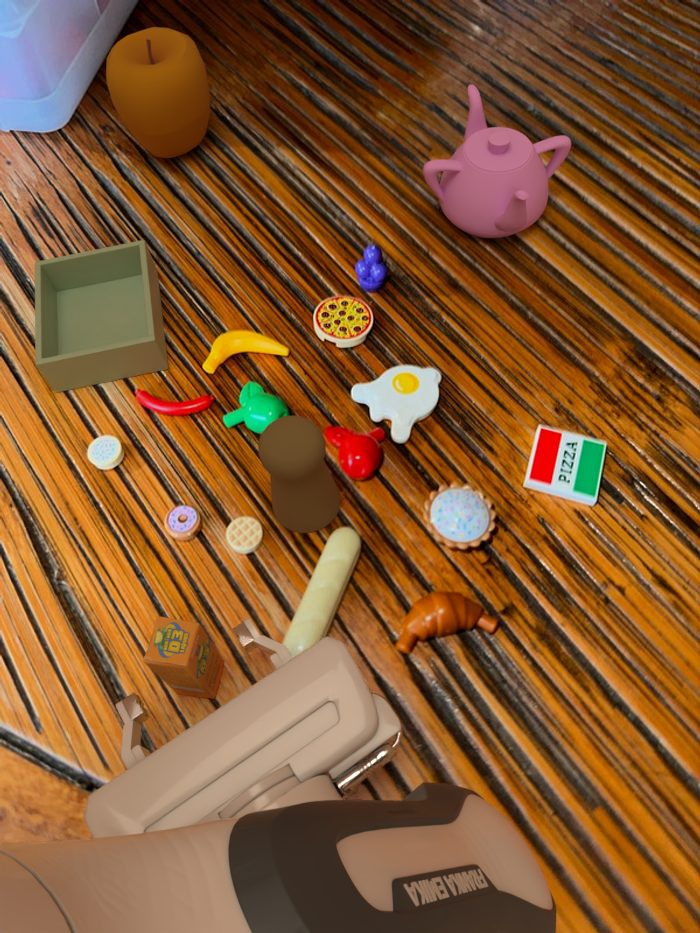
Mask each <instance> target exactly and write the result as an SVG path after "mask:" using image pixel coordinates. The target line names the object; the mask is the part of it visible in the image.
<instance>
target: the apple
mask: <svg viewBox="0 0 700 933" xmlns="http://www.w3.org/2000/svg"><path fill="white" fill-rule="evenodd" d="M105 68H106V69H105V77H106V78H105V79H106V86H107V89H108V91H109V95H110V98H111V102H112V105H113V107H114V109H115V111H116V112H117V115H118V116H119V118H120V120H121V121H122V123H123V124H124V125H125V127H126V128H127V130H129V132H130V133H131V135H132V136H133V137H134V138H135V139H136V141H137V142H138V143H139V144H140V146H141V147H143V148H144V149H145V150H147V151H148V152H149V153H150V154H151V155H152V156H153V157H155V158H162V159H173V158H177V157H179V156H183V155H185V154H187V153H189V152H190V151H192V150H194V149H195V148H196V147H197V146H199V145H200V144H201V143H202V141H203V140H204V137H205V136H206V134H207V130H208V125H209V120H210V115H211V96H210V84H209V78H208V75H207V74H208V73H207V68H206V65H205V63H204V61H203V58H202V55H201V54H200V51H199V49H198V47H197V45H196V43H195V41H194V40H193V39H192V38H191V37H190V36H189V35H188V34H186V33H183V32H180V31H178V30H175V29H172V28H169V27H158V26H153V27H149V28H145V29H142V30H139V31H136V32H133V33H131V34H127V35H126V36H124V37H123V38H121V39H120V40H119V41H117V42H116V43H115V44H114V45H113V46H112V48H111V50H110V51H109V53H108V55H107V57H106V67H105Z"/></svg>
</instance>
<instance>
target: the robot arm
mask: <svg viewBox="0 0 700 933" xmlns="http://www.w3.org/2000/svg"><path fill="white" fill-rule="evenodd" d="M232 631H233V633H234V634H235V636H236V638H237V639H238V641H239V642H240V644H241V646H242V647H243V649H244V650H245V653H247V654H249V653H250V652H252V651H254V650H256V649H259V650H261V651H263V652H264V653H267V654H268V655H270V656H269V660H270V661H271V663H272V664H273V666H274V667H275V670H273V671H271V672H270V673H268V674H267V675H265V676H264V677H263V678H261V679H260V680H258V681H256V682H255V683H253V684H252V685H250V686H249V687H248V688H246V689H245V690H243V691H242V692H240V693H239V694H237V695H236V696H235V697H233V698H231V699H230V700H229V701H227V702H225V703H224V704H222V705H221V706H219V707H218V708H217V709H215V710H213V711H212V712H210V713H209V714H207V715H206V716H205V717H203V718H201V719H200V720H199V721H197V722H196V723H193V725H190V727H188V728H187V729H185V730H184V731H182V732H181V733H179V734H177V735H176V736H175V737H173V738H172V739H171V740H169V741H167V742H165V743H164V744H163V745H161V746H160V747H159V748H157V749H155V750H154V751H153V752H151V751H150V750H149V749H147V748H145V747H144V746H142V744H141V742H142V741H141V740H142V724H143V723H145V722H146V721H148V720H149V719H151V718H152V717H151V715H150V713H149V711H148V709H147V708H146V707H145V703H144V701H143V699H142V698H141V697H140V695H139V694H137V693H136V692H132V693H130V694H128V695H127V696H126V697H124V698H123V699H121V700H119V701H117V702H116V703H115V708H116V711H117V712H118V714H119V716H120V718H121V721H122V722H123V724H124V725H123V726H122V734H121V744H120V758H121V760H122V763H123V764H124V766H125V769H126V770H124V771H123V772H121V773H120V774H118V775H117V776H116V777H114V778H113V779H111V780H110V781H108V782H107V783H105V784H104V785H102V786H101V787H99V788H98V789H96V790H94V791H93V792H92V793H91V794H89V795H88V796H87V800H86V803H85V809H84V814H83V817H84V818H83V819H84V822H85V824H86V826H87V829H88V830H89V832H90V835H91V838H79V839H66V840H64V839H63V840H53V841H50V840H49V841H16V842H15V841H13V842H9V841H7V842H6V841H5V842H4V841H0V933H557V906H556V902H555V899H554V896H553V894H552V891H551V890H550V886H549V883H548V880H547V878H546V875H545V874H544V871H543V869H542V866H541V865H540V863H539V861H538V859H537V857H536V855H535V854H534V852H533V851H532V849H531V847H530V846H529V844H528V843H527V841H526V840H525V838H524V837H523V836H522V835H521V833H520V832H519V831H518V829H517V828H516V827H515V825H513V823H512V822H510V819H508V818H507V817H506V816H505V815H504V814H503V813H502V812H501V811H500V810H499V809H498V808H496V807H495V805H492V804H491V803H490V802H489V801H487V800H486V799H485V798H484V797H482V796H481V795H480V794H479V793H478V792H476V791H474V790H472V789H470V788H466V787H462V786H458V785H454V784H449V783H440V782H425V781H423V782H422V783H420V784H419V785H418V786H417V787H416V788H414V789H413V790H412V791H411V792H410V793H409V794H407V795H406V796H405V797H404V798H402V799H401V800H397V799H396V800H395V799H394V800H393V799H391V800H390V799H389V800H388V799H386V800H385V799H384V800H383V799H344V796H345V795H346V794H348V793H349V792H351V791H352V790H353V789H354V788H356V787H357V786H359V785H360V784H361V783H363V781H365V780H366V779H367V778H368V777H369V776H370V775H372V773H374V772H375V771H376V770H378V769H379V768H382V767H385V766H386V765H387V764H389V763H390V762H392V760H393V759H394V758H395V757H396V756H397V753H396V750H397V749H398V747H399V746H400V744H401V742H402V739H403V733H404V732H403V724H402V721H401V719H400V717H399V715H398V714H397V713H396V711H395V709H394V708H393V707H392V705H391V703H390V702H389V701H388V700H387V699H386V698H385V697H384V696H382V695H380V694H379V693H374V692H371V691H370V688H369V686H368V683H367V681H366V679H365V677H364V675H363V673H362V671H361V669H360V667H359V666H358V663H357V662H356V660H355V658H354V656H353V655H352V653H351V651H350V649H349V648H348V647H347V645H346V644H345V642H344V641H343V640H341V639H339V638H336V637H332V636H324V637H322V638H321V639H319V640H318V641H316V642H314V644H311V645H310V646H309V647H307V648H305V649H304V650H303V651H301V652H299V653H298V654H297V655H296V656H294V657H293V655H292V654H291V652H290V651H289V649H288V648H287V645H285V644H283V643H280V642H279V641H277V640H274V639H272V638H270V637H268V636H266V635H264V634H260V632H259V631H258V629H257V628H256V626H255V625H254V623H253V621H252V619H251V618H250V617H247V618H246V619H244V620H243V621H242V622H240V623H239V624H237V625H236V626H234V627H233V628H232ZM392 739H394V741H393V742H392V743H390V741H392Z"/></svg>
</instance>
